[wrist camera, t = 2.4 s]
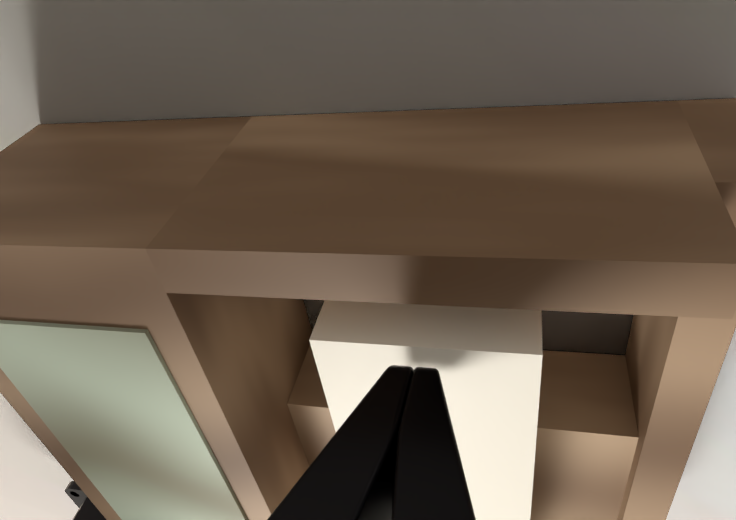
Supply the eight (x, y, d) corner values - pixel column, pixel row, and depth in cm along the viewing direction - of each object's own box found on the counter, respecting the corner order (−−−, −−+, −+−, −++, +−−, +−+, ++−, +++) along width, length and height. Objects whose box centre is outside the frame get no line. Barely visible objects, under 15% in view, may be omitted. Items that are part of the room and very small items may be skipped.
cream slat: (523, 536, 18) (522, 621, 16) (397, 518, 19) (382, 596, 17) (540, 261, 11) (542, 355, 9) (341, 256, 12) (308, 340, 10)
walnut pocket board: (625, 504, 20) (648, 674, 16) (213, 454, 24) (154, 581, 20) (735, 97, 11) (845, 272, 7) (39, 124, 15) (-130, 244, 11)
